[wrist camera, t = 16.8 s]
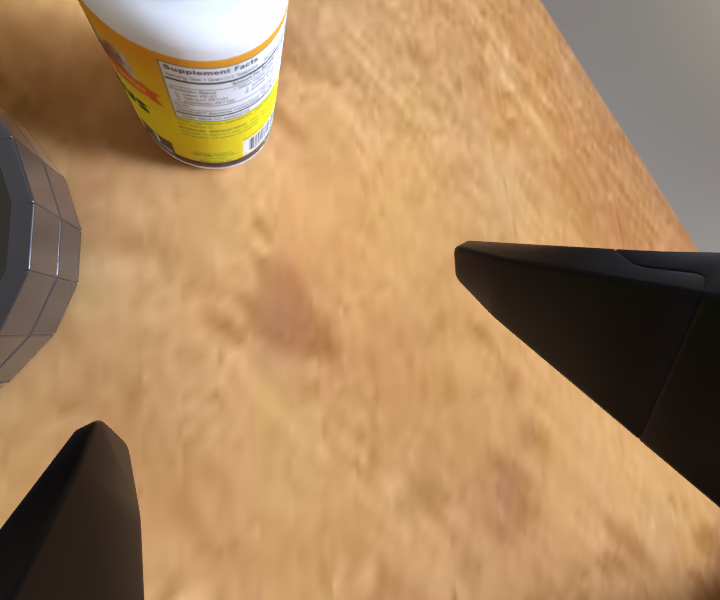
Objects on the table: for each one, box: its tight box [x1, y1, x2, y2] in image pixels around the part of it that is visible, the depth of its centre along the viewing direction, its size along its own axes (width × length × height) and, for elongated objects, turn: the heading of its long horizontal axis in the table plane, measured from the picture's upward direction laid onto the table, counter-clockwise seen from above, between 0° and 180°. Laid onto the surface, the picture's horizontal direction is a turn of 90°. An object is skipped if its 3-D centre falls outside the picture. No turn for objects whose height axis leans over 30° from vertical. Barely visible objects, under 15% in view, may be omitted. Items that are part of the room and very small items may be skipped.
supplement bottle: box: [78, 0, 289, 169], centre depth 12 cm, size 6×6×10 cm
